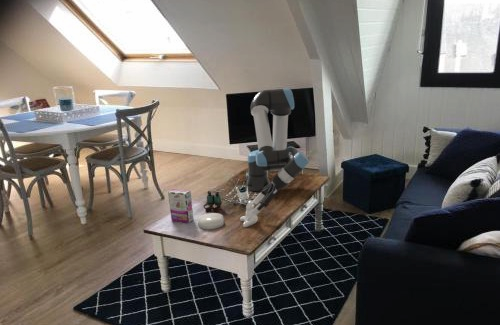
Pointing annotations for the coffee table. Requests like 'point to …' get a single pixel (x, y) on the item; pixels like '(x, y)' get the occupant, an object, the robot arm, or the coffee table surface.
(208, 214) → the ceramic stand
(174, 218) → the candy bar box
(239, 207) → the coffee table surface
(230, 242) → the coffee table surface
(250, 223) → the white creature statuette
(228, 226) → the coffee table surface
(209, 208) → the green bottle cruet set
